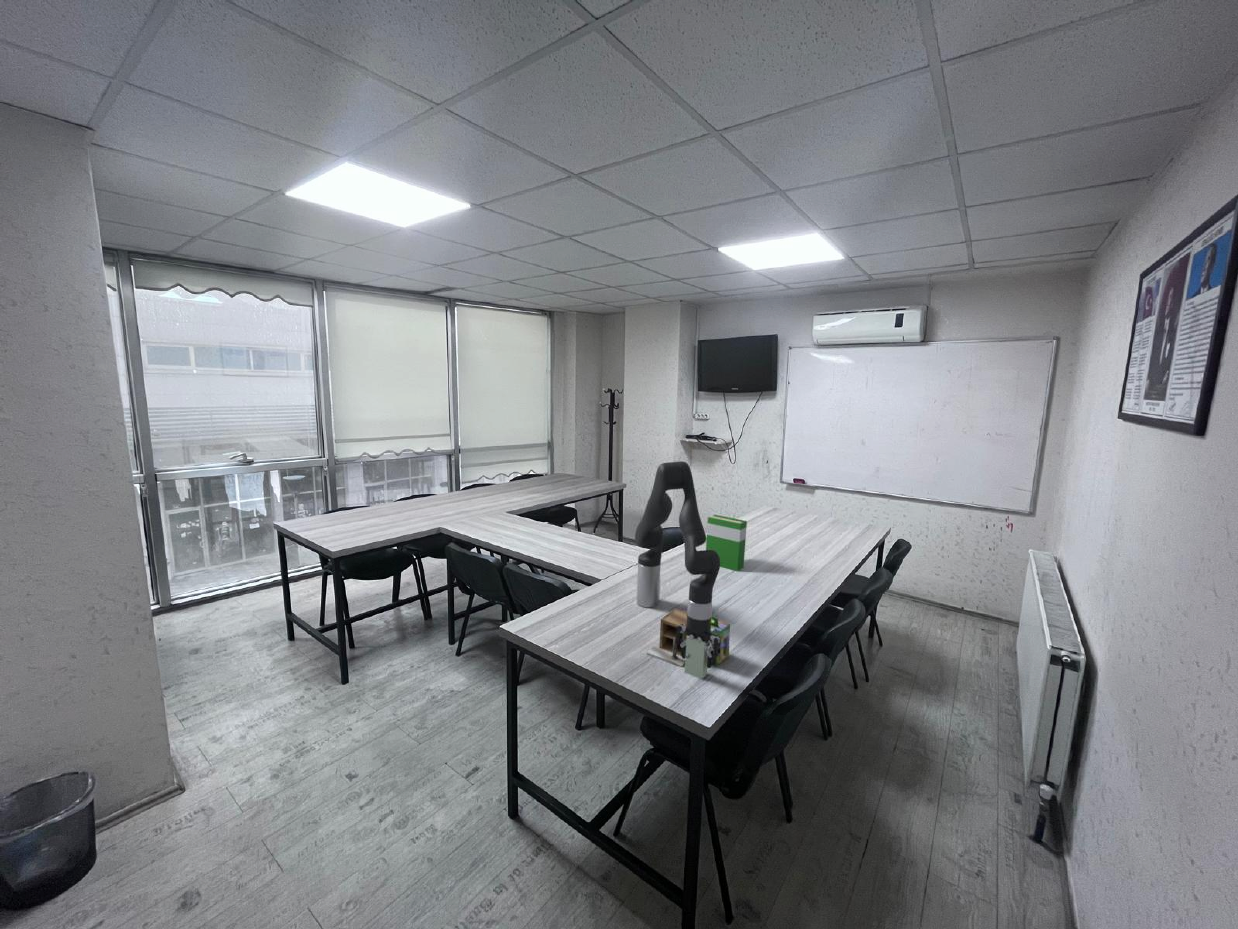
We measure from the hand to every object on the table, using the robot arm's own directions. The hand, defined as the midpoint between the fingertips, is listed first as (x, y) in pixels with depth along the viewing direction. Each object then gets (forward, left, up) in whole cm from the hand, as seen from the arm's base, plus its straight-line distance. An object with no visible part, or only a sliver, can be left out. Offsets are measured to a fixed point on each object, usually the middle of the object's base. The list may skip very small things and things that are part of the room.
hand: (696, 662), depth 154 cm
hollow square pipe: (0, 0, -4) cm, 4 cm away
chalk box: (-12, 0, -4) cm, 12 cm away
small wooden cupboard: (-7, -11, -4) cm, 14 cm away
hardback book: (-96, -30, -4) cm, 101 cm away
